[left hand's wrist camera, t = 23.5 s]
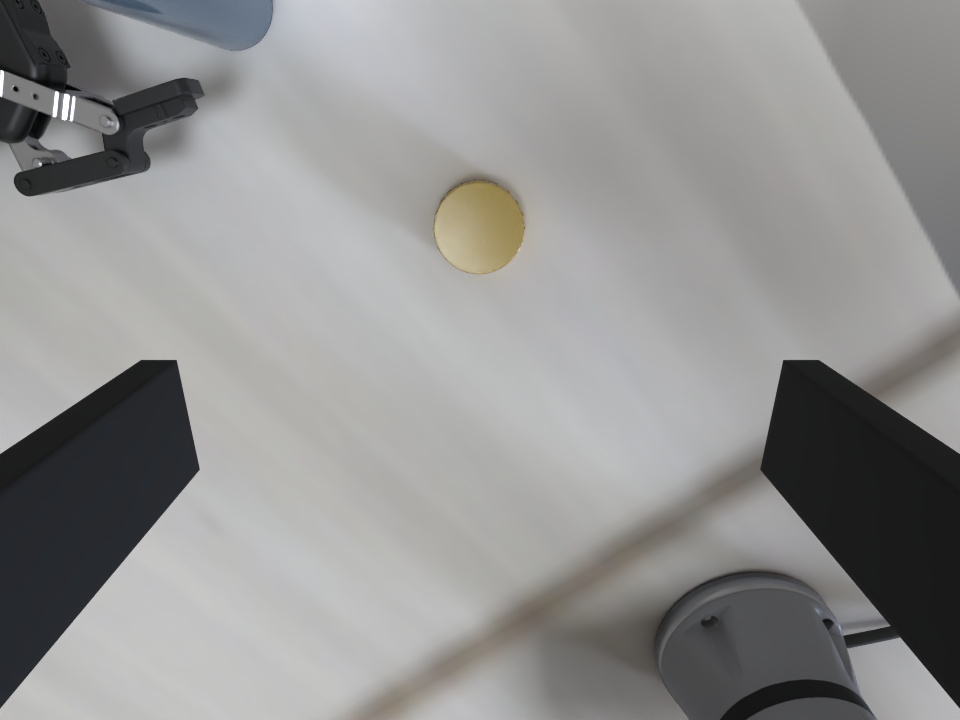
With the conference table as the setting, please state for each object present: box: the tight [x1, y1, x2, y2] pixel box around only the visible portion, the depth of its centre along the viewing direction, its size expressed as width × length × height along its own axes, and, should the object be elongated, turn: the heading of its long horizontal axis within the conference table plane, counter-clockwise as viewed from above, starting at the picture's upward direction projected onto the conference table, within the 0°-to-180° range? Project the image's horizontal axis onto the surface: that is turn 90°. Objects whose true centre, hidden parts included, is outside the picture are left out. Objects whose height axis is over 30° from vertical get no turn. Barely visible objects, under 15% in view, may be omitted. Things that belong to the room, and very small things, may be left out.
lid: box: [433, 180, 525, 274], centre depth 36 cm, size 6×6×2 cm
